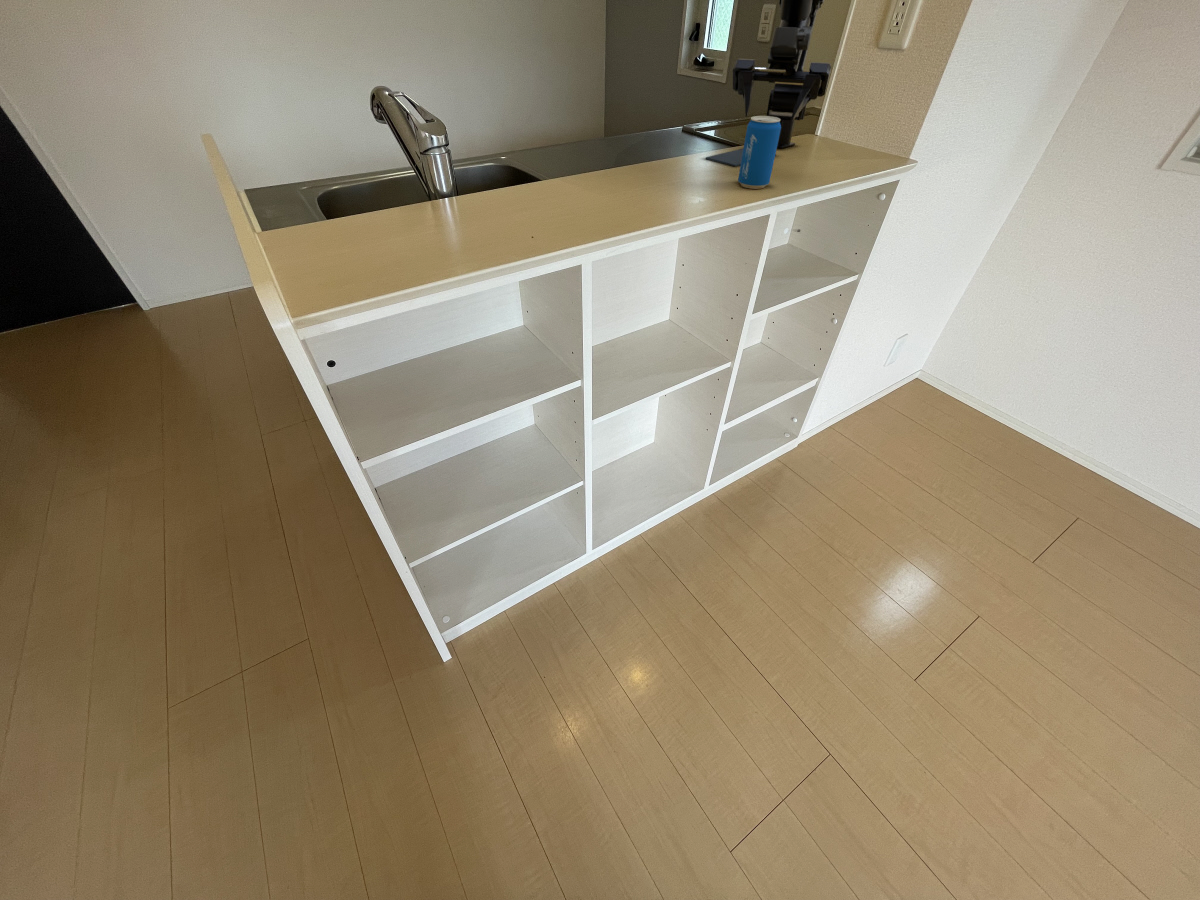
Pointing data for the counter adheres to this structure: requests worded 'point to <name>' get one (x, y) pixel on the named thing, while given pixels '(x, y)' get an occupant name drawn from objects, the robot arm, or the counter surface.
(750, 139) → the beverage can
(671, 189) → the counter surface
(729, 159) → the mat
